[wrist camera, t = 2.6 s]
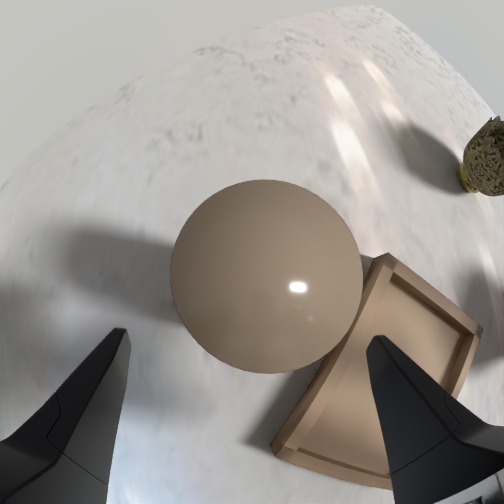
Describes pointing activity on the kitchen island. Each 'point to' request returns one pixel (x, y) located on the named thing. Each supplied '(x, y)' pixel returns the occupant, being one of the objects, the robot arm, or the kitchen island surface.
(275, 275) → the spice jar
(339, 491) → the kitchen island surface
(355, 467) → the tray
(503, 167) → the cup
